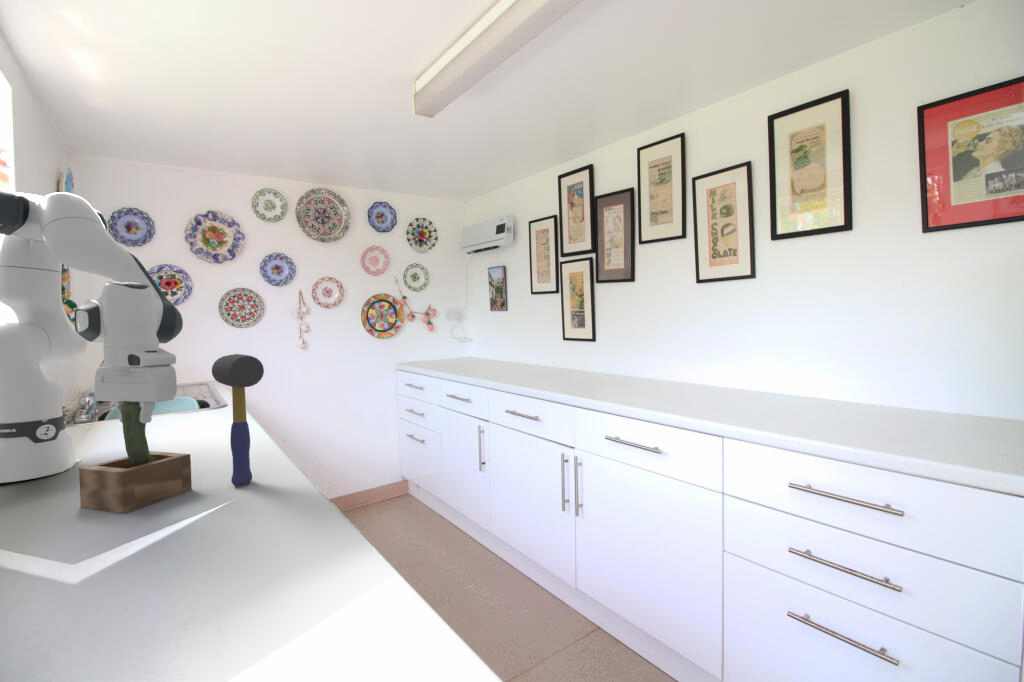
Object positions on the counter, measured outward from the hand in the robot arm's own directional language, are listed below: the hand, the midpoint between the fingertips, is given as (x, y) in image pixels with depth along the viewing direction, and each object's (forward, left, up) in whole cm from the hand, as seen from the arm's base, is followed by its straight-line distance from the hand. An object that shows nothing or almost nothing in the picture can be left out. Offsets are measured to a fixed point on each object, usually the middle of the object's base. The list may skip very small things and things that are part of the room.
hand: (135, 422), depth 91 cm
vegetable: (0, 0, -10) cm, 10 cm away
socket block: (0, 0, -16) cm, 16 cm away
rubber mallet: (+16, +11, -16) cm, 25 cm away
